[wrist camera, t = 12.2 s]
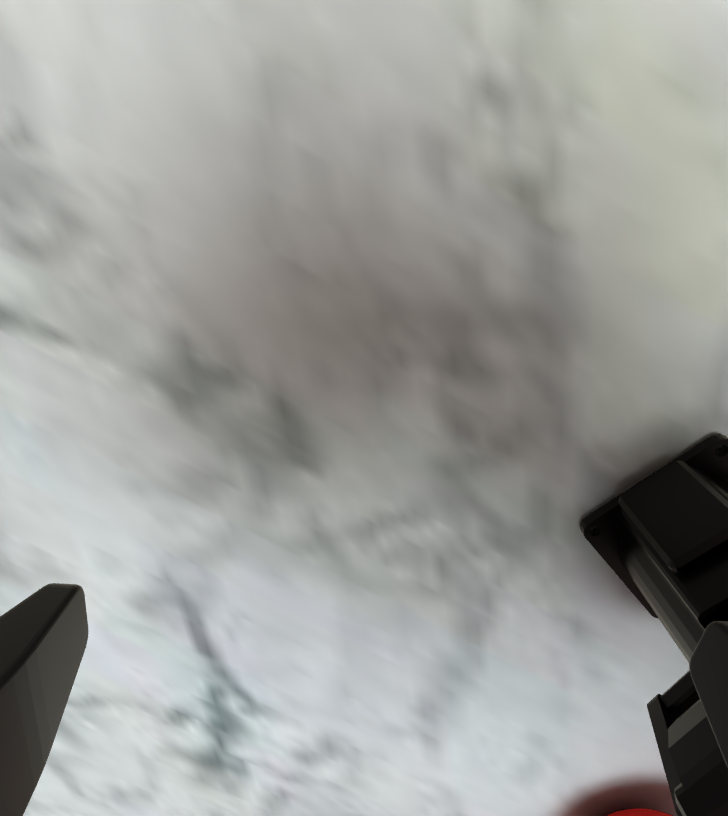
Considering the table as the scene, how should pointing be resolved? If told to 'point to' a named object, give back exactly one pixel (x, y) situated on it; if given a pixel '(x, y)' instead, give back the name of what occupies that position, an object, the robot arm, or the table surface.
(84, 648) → the robot arm
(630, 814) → the ornament
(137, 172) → the table surface
